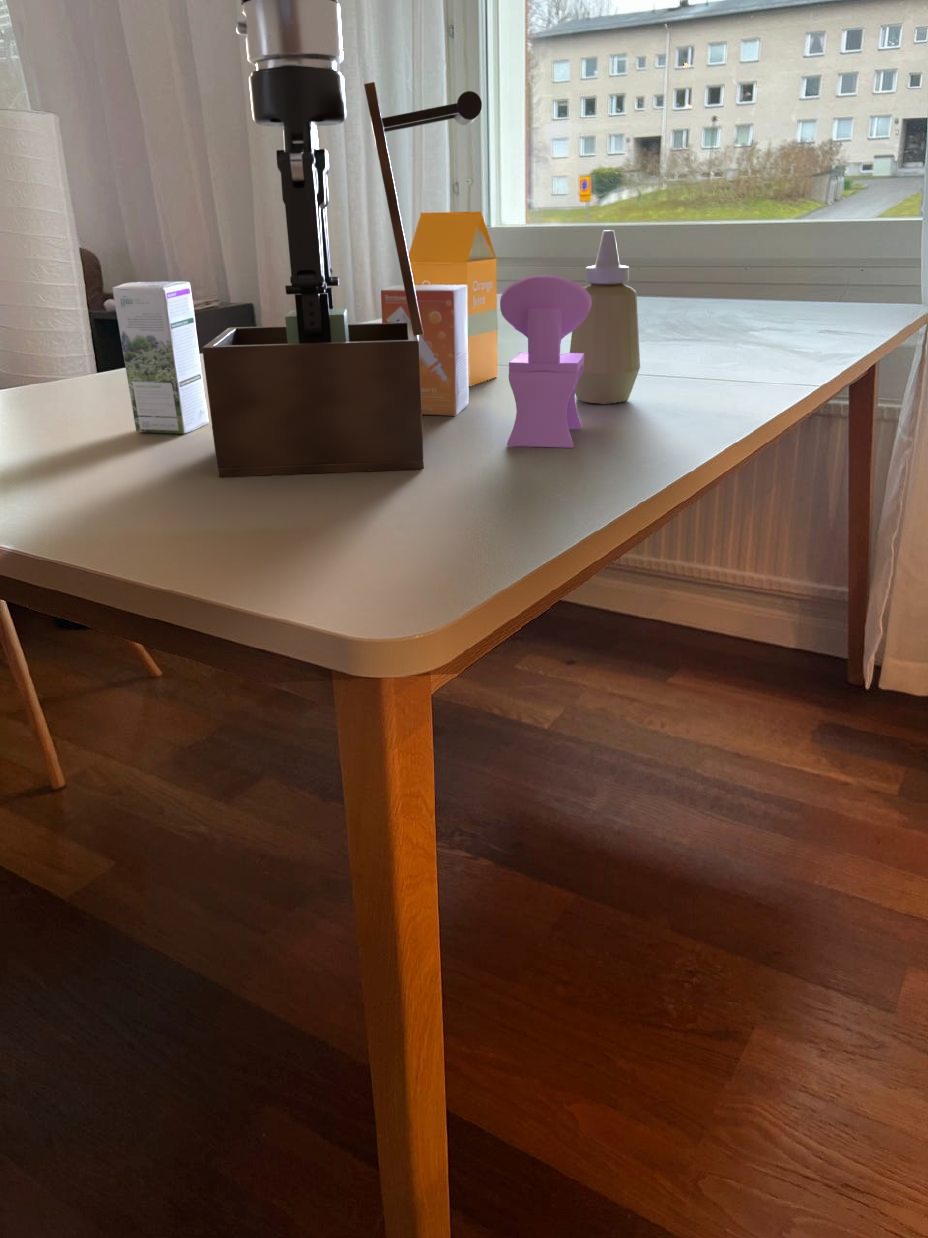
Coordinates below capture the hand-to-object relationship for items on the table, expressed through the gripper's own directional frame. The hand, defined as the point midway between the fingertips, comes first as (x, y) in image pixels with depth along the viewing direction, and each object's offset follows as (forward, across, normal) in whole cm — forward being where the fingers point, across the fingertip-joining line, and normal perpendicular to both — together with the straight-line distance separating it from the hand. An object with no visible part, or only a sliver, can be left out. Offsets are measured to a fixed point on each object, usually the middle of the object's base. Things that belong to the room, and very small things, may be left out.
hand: (320, 366), depth 86 cm
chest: (+8, 0, 0) cm, 8 cm away
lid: (-12, 0, +7) cm, 14 cm away
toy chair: (+8, -4, +21) cm, 23 cm away
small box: (+8, -19, +10) cm, 23 cm away
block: (0, 0, 0) cm, 0 cm away
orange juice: (+8, -38, +14) cm, 41 cm away
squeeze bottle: (+8, -21, +30) cm, 38 cm away
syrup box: (+8, -14, -17) cm, 23 cm away
